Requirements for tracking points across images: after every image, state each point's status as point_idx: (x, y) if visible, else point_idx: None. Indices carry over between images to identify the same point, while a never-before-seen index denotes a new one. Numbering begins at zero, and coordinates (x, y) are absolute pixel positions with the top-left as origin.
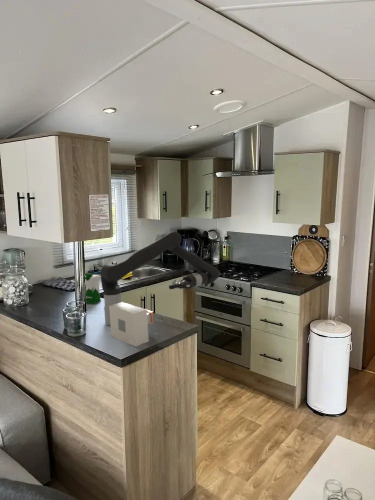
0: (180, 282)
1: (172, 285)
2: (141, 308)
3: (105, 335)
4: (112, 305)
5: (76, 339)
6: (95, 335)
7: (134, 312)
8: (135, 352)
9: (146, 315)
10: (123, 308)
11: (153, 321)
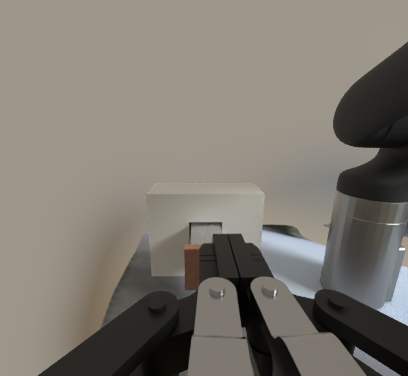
0: (191, 340)
1: (213, 246)
2: (167, 193)
3: (261, 248)
4: (250, 184)
5: (271, 225)
6: (273, 241)
7: (160, 184)
8: (139, 244)
9: (147, 209)
10: (207, 185)
11: (185, 282)
